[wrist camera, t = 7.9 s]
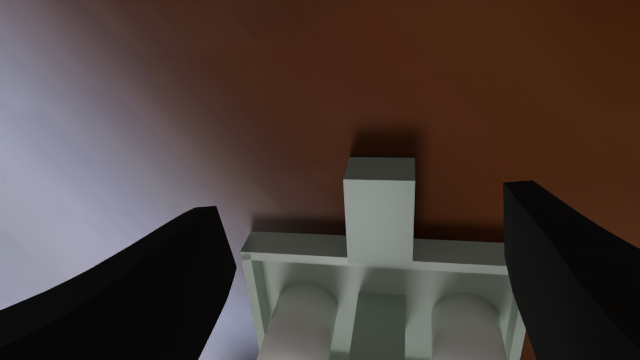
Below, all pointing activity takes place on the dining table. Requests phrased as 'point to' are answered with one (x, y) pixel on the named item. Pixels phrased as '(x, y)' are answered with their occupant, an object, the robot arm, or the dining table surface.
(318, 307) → the white egg
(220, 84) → the dining table surface
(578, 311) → the robot arm
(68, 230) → the dining table surface
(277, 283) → the tray
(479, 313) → the grey rounded piece
